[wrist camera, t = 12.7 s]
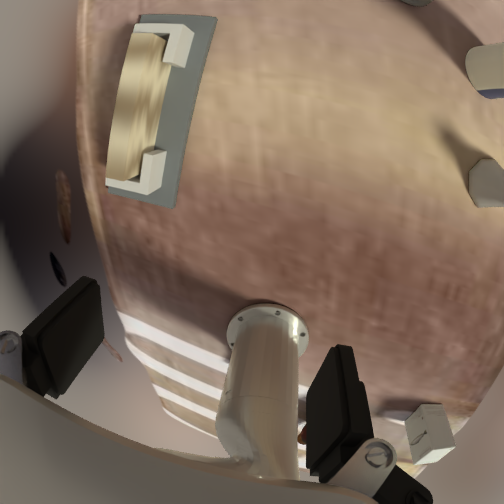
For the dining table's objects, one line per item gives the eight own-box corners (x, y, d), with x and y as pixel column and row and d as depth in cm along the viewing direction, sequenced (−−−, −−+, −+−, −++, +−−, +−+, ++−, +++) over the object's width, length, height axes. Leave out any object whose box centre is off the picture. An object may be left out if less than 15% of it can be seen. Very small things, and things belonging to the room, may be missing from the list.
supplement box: (420, 403, 50) (433, 449, 39) (443, 403, 50) (457, 446, 39) (403, 421, 53) (412, 465, 42) (425, 421, 53) (436, 462, 42)
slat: (150, 169, 35) (123, 181, 28) (134, 165, 35) (105, 177, 28) (176, 46, 28) (152, 33, 21) (159, 45, 28) (132, 33, 21)
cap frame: (175, 206, 38) (160, 219, 33) (111, 190, 38) (91, 201, 33) (217, 19, 27) (207, 6, 22) (145, 16, 27) (127, 6, 22)
